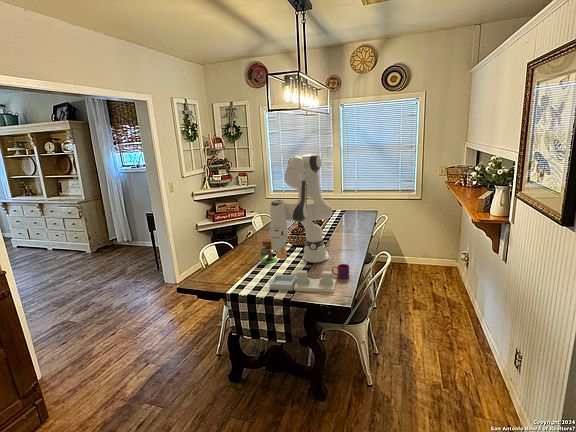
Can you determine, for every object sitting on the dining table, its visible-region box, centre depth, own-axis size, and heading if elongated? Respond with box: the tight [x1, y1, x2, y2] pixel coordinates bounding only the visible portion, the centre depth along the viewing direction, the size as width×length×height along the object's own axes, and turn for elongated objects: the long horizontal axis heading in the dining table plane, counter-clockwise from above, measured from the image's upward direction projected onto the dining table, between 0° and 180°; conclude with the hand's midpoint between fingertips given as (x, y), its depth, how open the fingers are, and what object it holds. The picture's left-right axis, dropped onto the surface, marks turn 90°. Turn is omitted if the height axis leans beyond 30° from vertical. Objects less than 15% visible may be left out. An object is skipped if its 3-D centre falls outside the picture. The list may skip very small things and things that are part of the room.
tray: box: [269, 274, 298, 292], centre depth 187 cm, size 13×13×4 cm
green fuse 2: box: [321, 270, 333, 285], centre depth 179 cm, size 3×5×7 cm, turn 76°
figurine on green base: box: [259, 238, 278, 264], centre depth 225 cm, size 12×13×15 cm
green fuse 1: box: [297, 269, 308, 284], centre depth 183 cm, size 3×5×7 cm, turn 76°
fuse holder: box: [293, 276, 337, 293], centre depth 182 cm, size 12×22×5 cm, turn 76°
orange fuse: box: [275, 244, 288, 260], centre depth 182 cm, size 3×5×7 cm, turn 76°
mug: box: [331, 263, 350, 280], centre depth 192 cm, size 7×10×7 cm
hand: (281, 253), depth 182 cm, fingers closed on orange fuse, 3 cm apart
